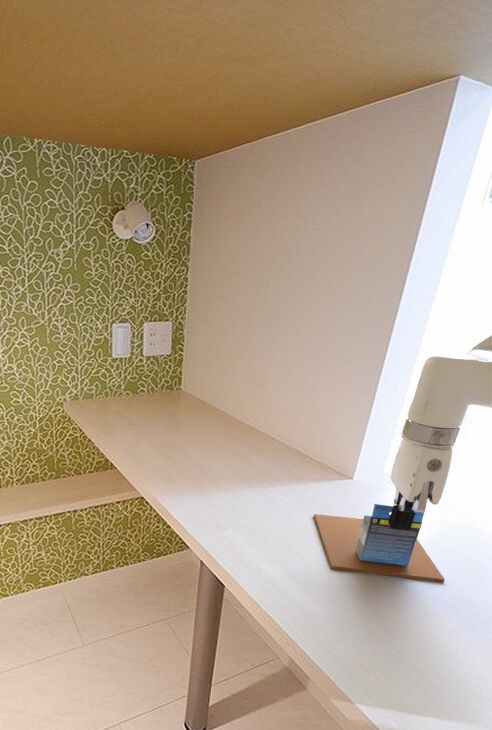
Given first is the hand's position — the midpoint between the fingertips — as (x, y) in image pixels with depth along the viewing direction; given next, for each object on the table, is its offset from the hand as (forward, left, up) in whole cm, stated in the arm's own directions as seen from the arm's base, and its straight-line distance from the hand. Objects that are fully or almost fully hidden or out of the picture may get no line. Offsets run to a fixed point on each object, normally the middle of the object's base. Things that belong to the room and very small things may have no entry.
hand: (398, 527), depth 79 cm
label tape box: (0, -3, -10) cm, 10 cm away
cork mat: (0, -9, -10) cm, 14 cm away
